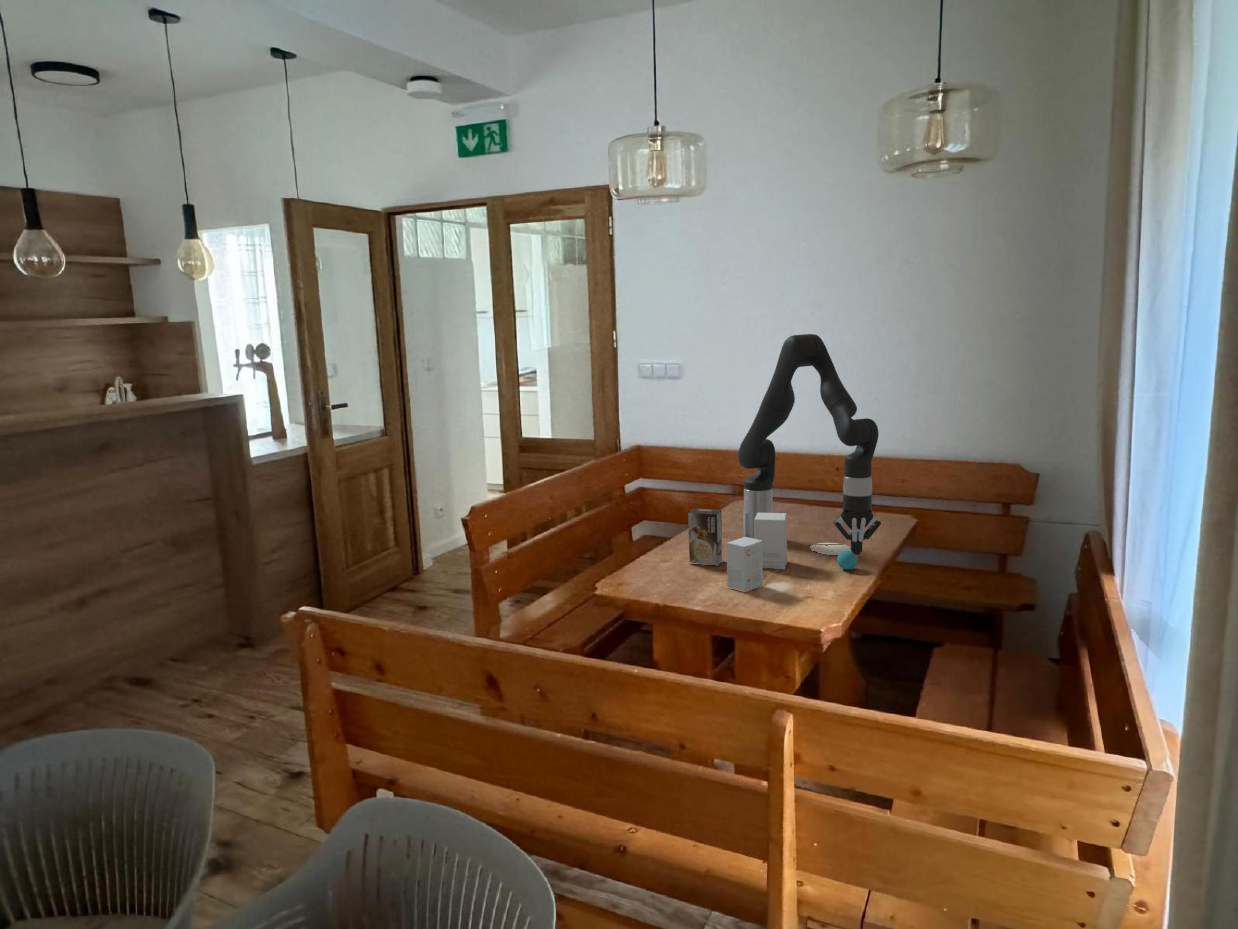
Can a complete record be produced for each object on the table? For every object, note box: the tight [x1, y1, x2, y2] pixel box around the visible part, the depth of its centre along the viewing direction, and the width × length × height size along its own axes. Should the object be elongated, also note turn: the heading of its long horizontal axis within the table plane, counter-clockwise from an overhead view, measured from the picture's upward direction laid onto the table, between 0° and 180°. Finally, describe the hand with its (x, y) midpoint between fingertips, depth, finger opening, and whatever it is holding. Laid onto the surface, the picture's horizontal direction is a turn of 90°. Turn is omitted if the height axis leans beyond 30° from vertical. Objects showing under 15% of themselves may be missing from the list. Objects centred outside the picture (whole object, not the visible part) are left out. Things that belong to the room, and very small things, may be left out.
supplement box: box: [754, 512, 788, 570], centre depth 240 cm, size 9×9×15 cm
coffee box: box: [687, 507, 723, 566], centre depth 244 cm, size 9×6×16 cm
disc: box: [809, 542, 851, 556], centre depth 256 cm, size 13×13×1 cm
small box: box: [726, 536, 764, 593], centre depth 221 cm, size 8×6×13 cm
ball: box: [836, 550, 858, 571], centre depth 235 cm, size 6×6×6 cm
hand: (856, 553), depth 224 cm, fingers closed
